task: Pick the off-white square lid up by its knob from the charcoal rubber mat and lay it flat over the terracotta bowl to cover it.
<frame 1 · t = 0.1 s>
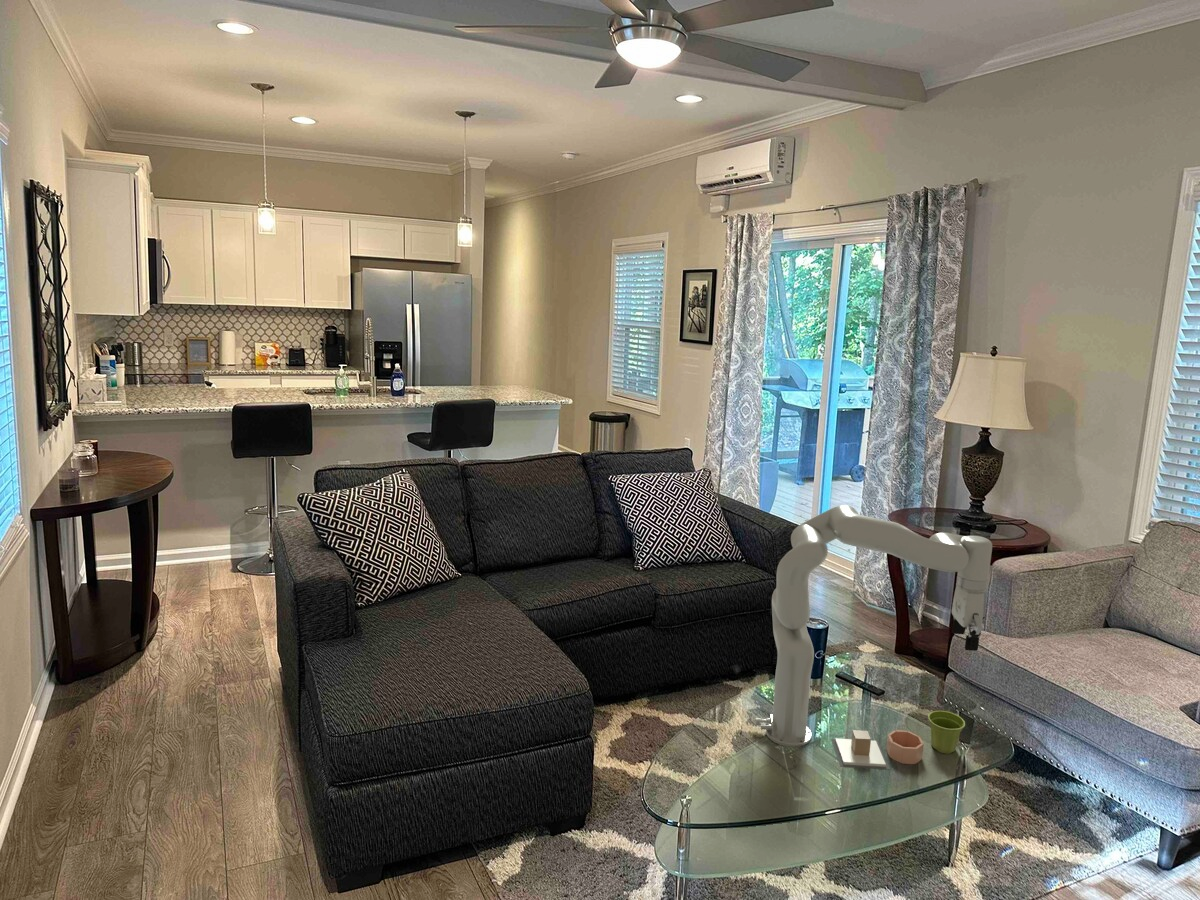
hand: (964, 641, 227), 31 cm above the table, tool pointing down, fingers open, 9 cm apart
bowl: (903, 755, 229), on the table
mat: (859, 755, 229), on the table
plant pot: (943, 748, 233), on the table
lid: (859, 753, 229), resting on mat
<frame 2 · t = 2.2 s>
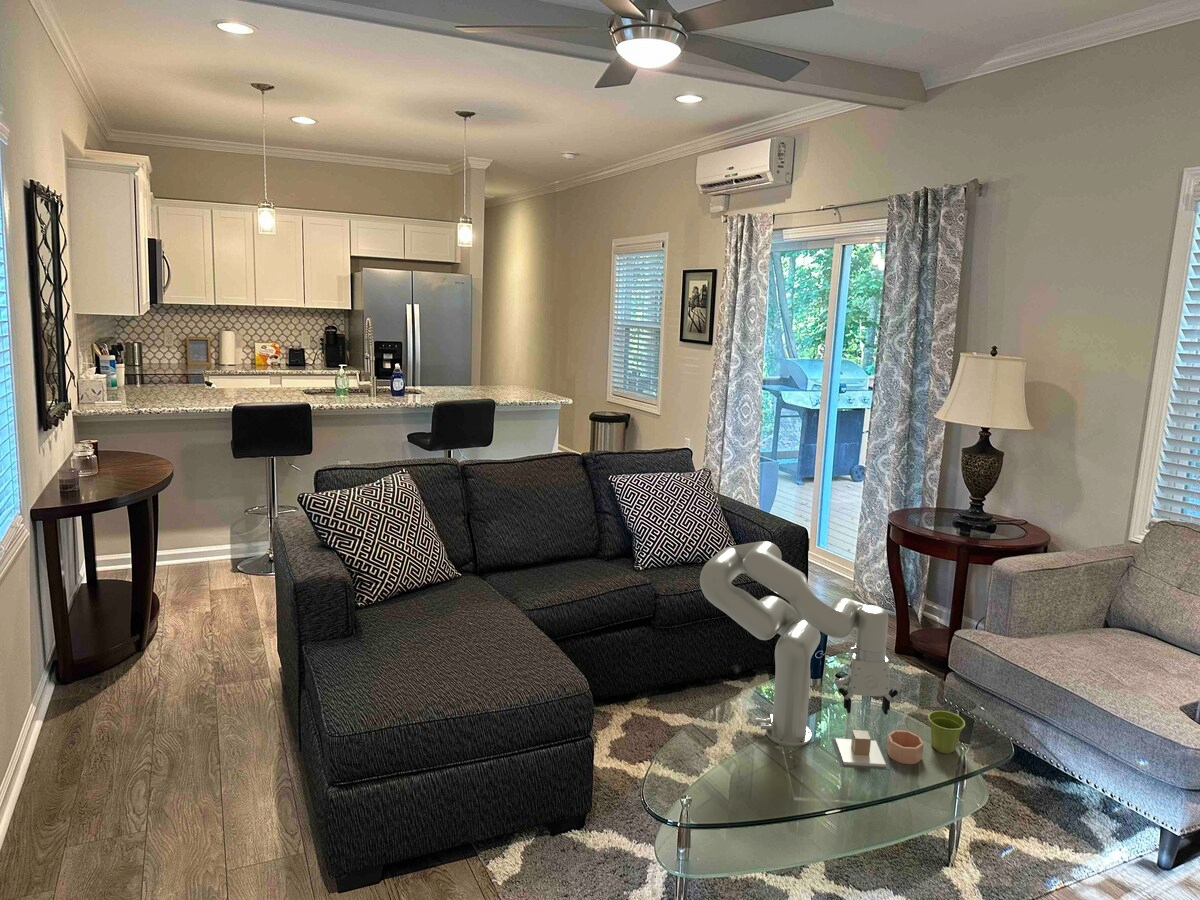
hand: (866, 711, 225), 13 cm above the table, tool pointing down, fingers open, 9 cm apart
nothing on the table moved.
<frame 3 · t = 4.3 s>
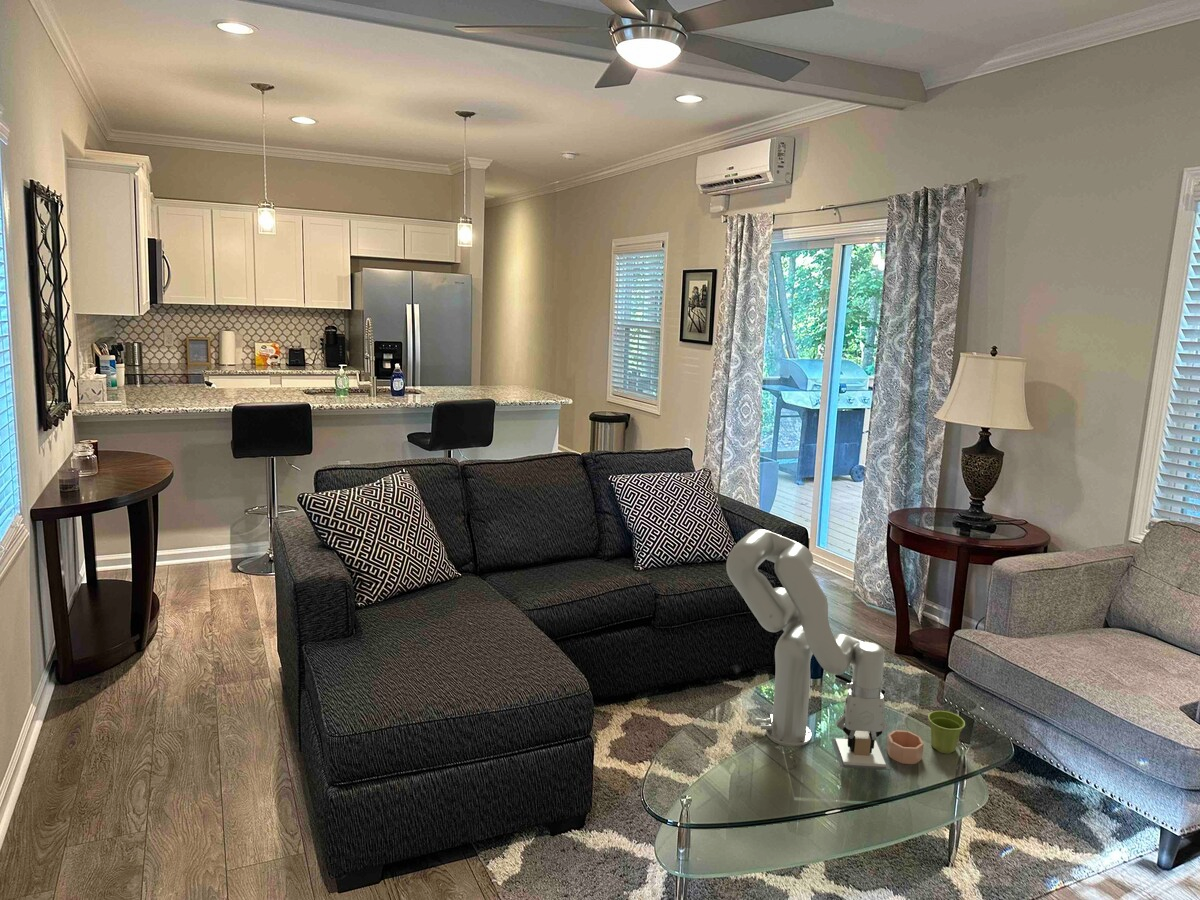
hand: (860, 749, 228), 2 cm above the table, tool pointing down, fingers closed on lid, 4 cm apart
lid: (859, 753, 229), point 1 cm above the table, touching gripper, mat
everything else where it was.
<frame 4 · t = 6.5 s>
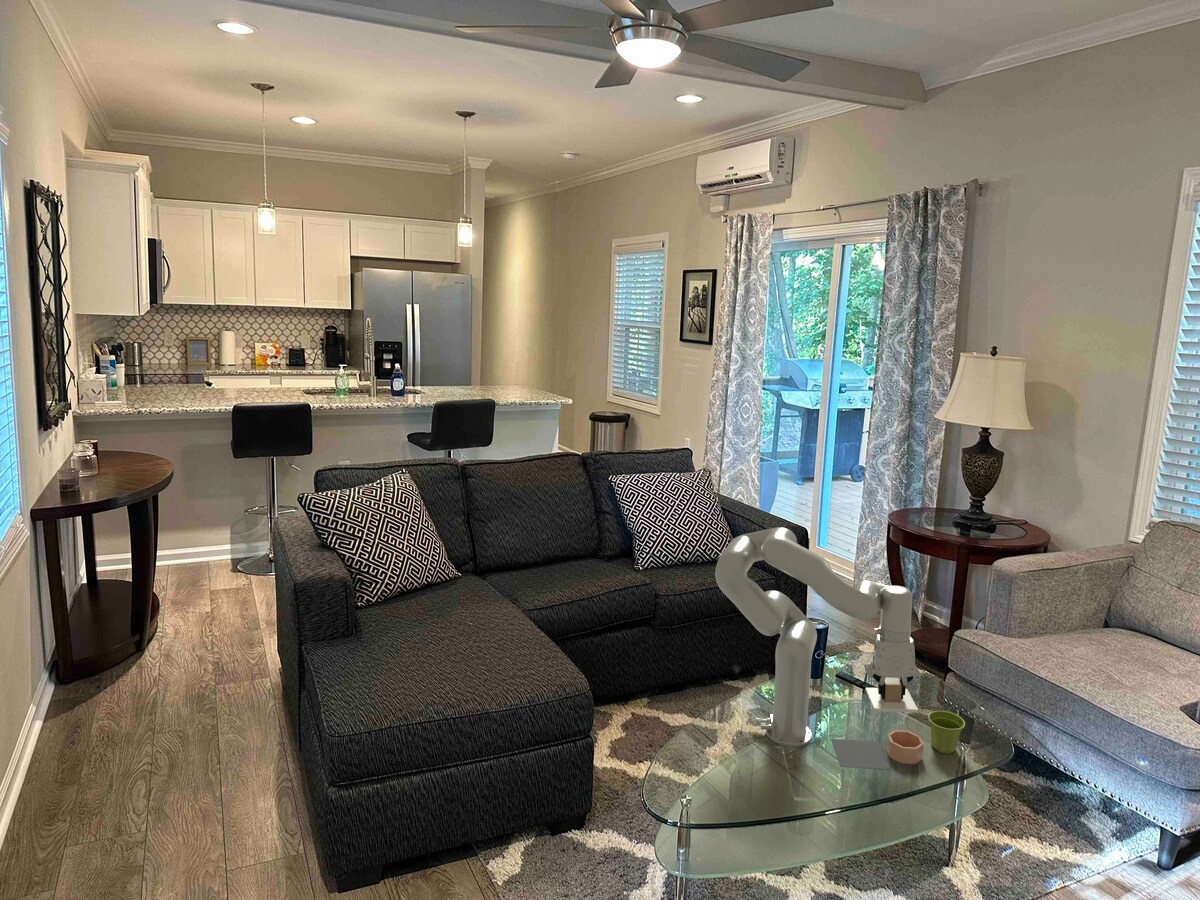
hand: (891, 696, 224), 18 cm above the table, tool pointing down, fingers closed on lid, 4 cm apart
lid: (890, 701, 224), point 17 cm above the table, touching gripper
everything else where it was.
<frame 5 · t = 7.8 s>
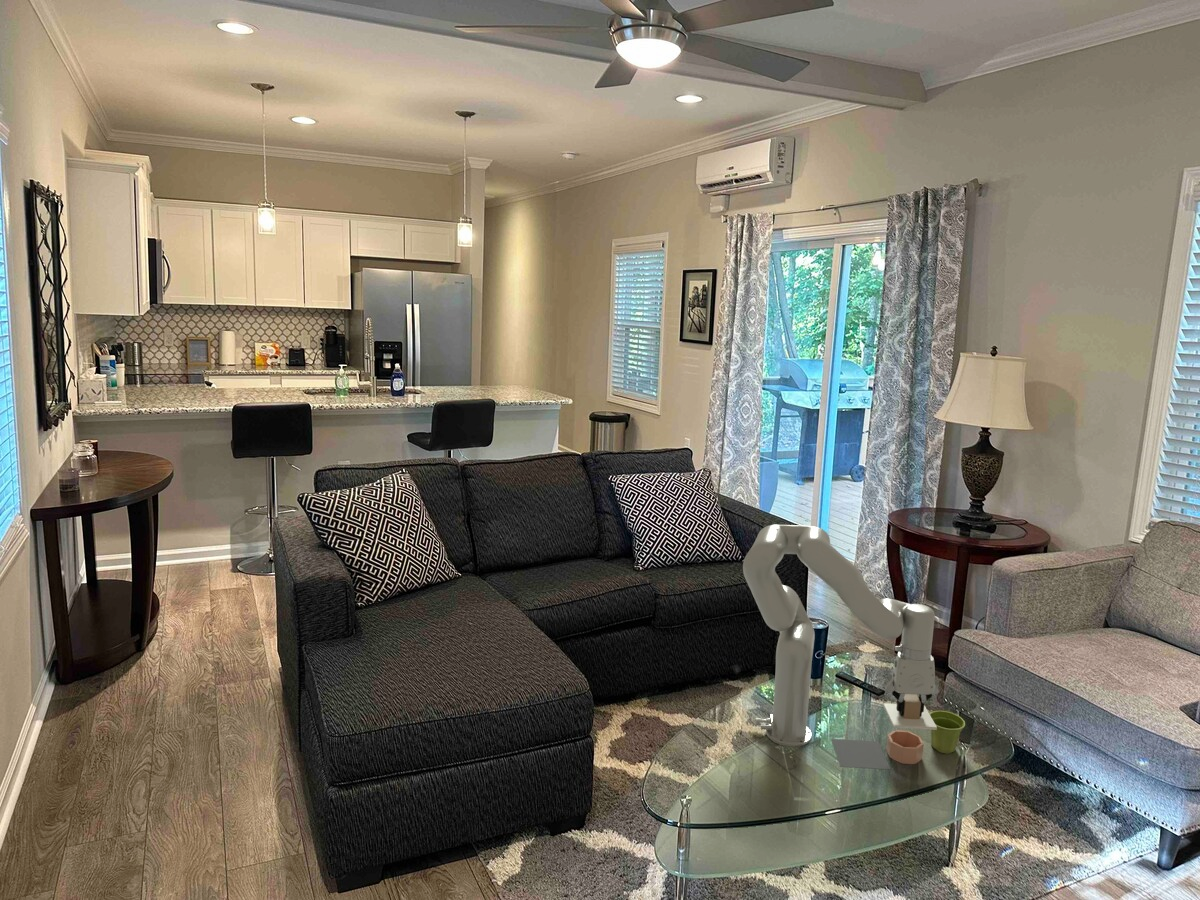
hand: (909, 713, 226), 13 cm above the table, tool pointing down, fingers closed on lid, 4 cm apart
lid: (909, 717, 226), point 12 cm above the table, touching gripper
everything else where it was.
when the fingers open (8 cm above the table, at t = 9.0 s): lid drops 1 cm, resting on bowl.
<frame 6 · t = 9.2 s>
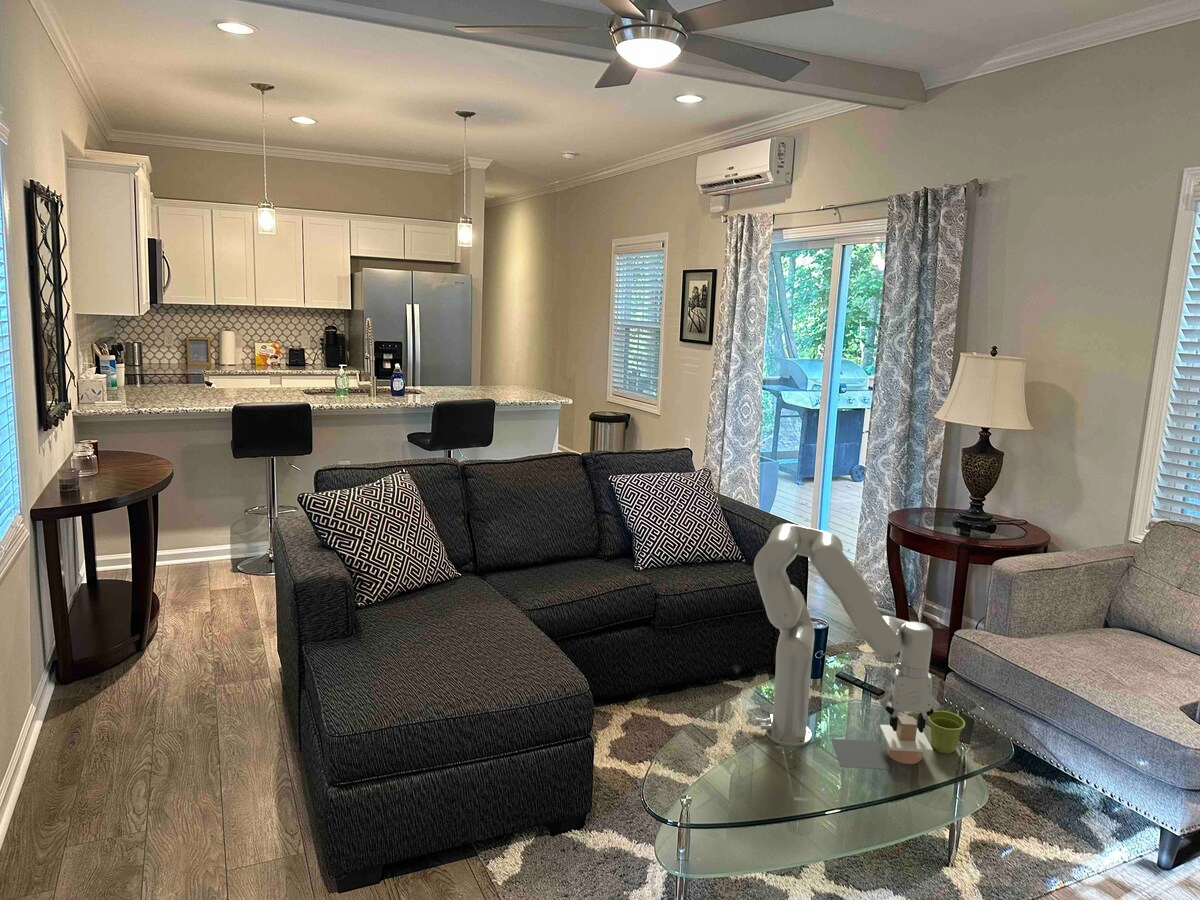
hand: (906, 728, 227), 8 cm above the table, tool pointing down, fingers open, 6 cm apart
lid: (905, 739, 228), point 5 cm above the table, touching bowl
everything else where it was.
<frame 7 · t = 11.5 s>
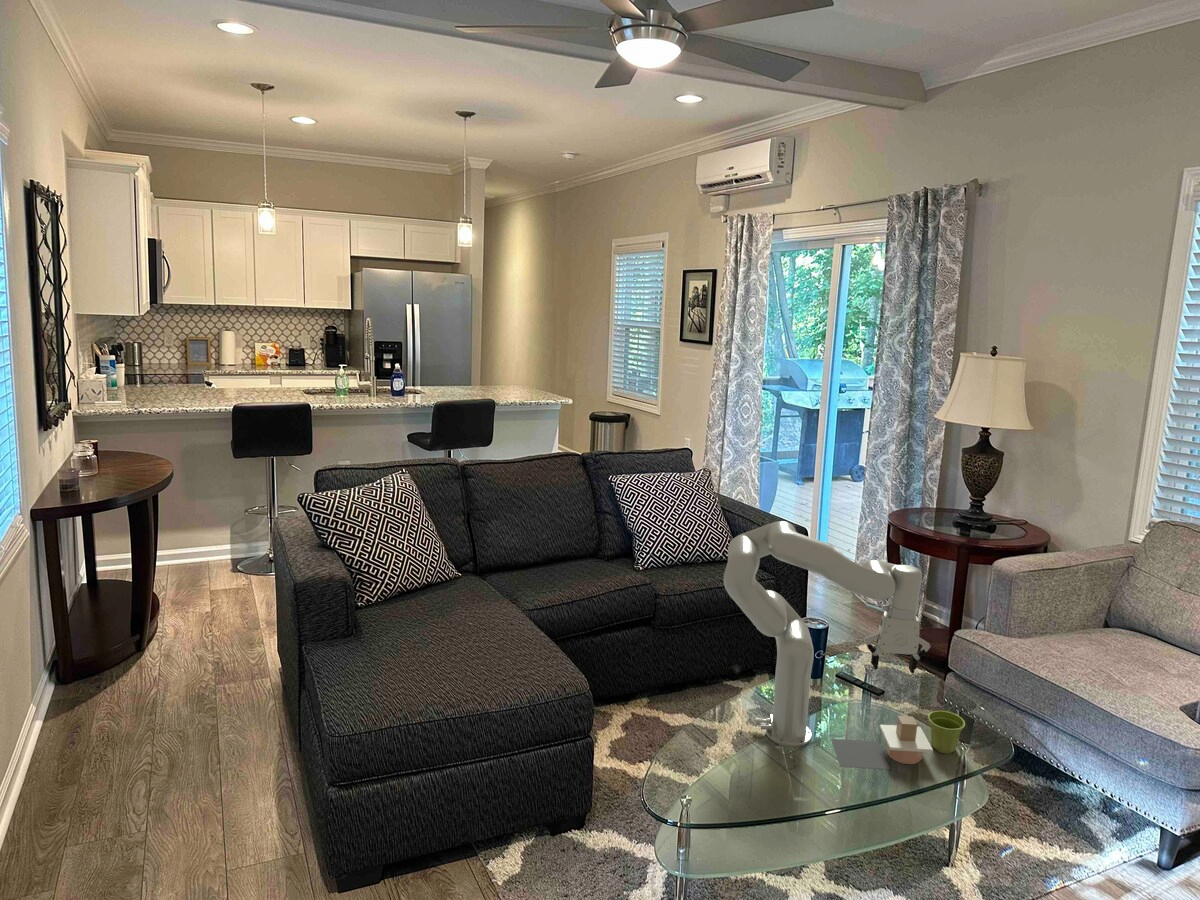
hand: (893, 669, 229), 23 cm above the table, tool pointing down, fingers open, 9 cm apart
nothing on the table moved.
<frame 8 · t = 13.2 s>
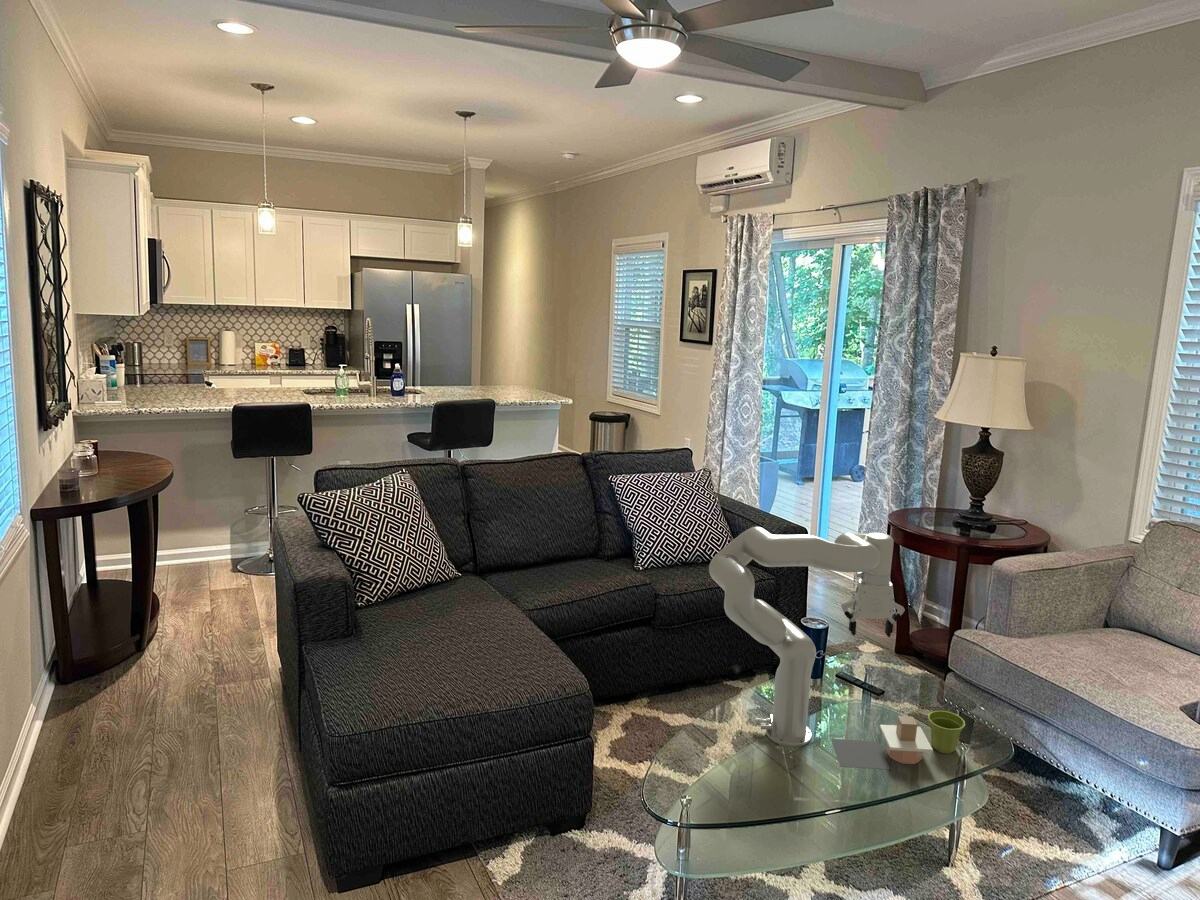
hand: (870, 634, 237), 28 cm above the table, tool pointing down, fingers open, 9 cm apart
nothing on the table moved.
at the end: lid 0.1 cm from the bowl (horizontally); lid point 5.0 cm above the table; lid tilted 0° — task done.
